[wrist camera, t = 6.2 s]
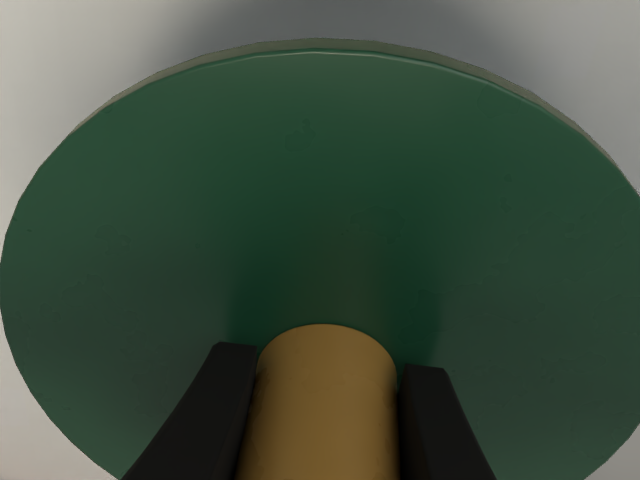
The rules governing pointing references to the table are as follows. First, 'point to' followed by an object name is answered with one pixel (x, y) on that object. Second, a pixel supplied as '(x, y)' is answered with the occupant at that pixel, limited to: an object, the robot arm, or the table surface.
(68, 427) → the tin lid
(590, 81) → the table surface
